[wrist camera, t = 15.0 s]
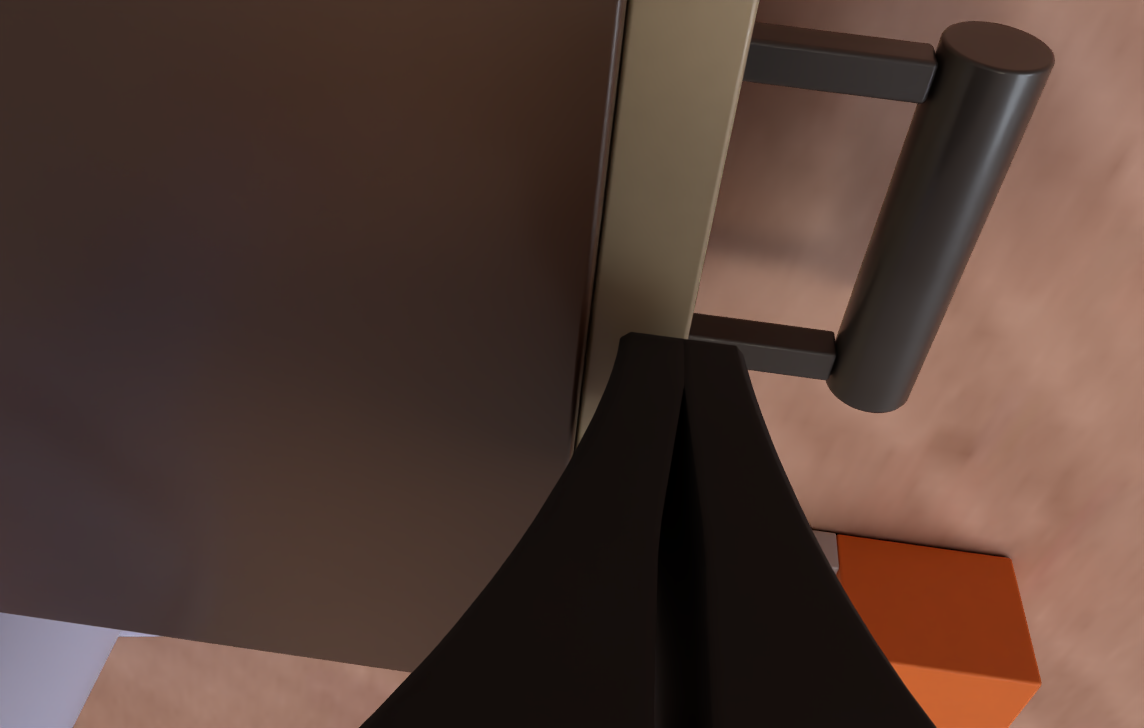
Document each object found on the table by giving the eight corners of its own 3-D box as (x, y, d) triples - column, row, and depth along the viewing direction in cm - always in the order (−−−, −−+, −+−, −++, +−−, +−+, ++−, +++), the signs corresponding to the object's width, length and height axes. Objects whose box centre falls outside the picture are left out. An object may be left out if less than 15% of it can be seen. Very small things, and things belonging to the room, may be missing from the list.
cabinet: (686, -397, 12) (656, -270, 7) (585, 405, 21) (543, 694, 16) (-348, -515, 12) (-1036, -467, 7) (1, 326, 22) (-206, 584, 17)
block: (1012, 556, 23) (1044, 685, 21) (975, 615, 25) (1000, 739, 22) (740, 519, 23) (741, 642, 21) (722, 579, 25) (720, 699, 23)
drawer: (1141, -269, 11) (1317, -131, 8) (849, 453, 20) (874, 671, 17) (-192, -422, 12) (-570, -355, 8) (79, 347, 20) (-54, 539, 17)
